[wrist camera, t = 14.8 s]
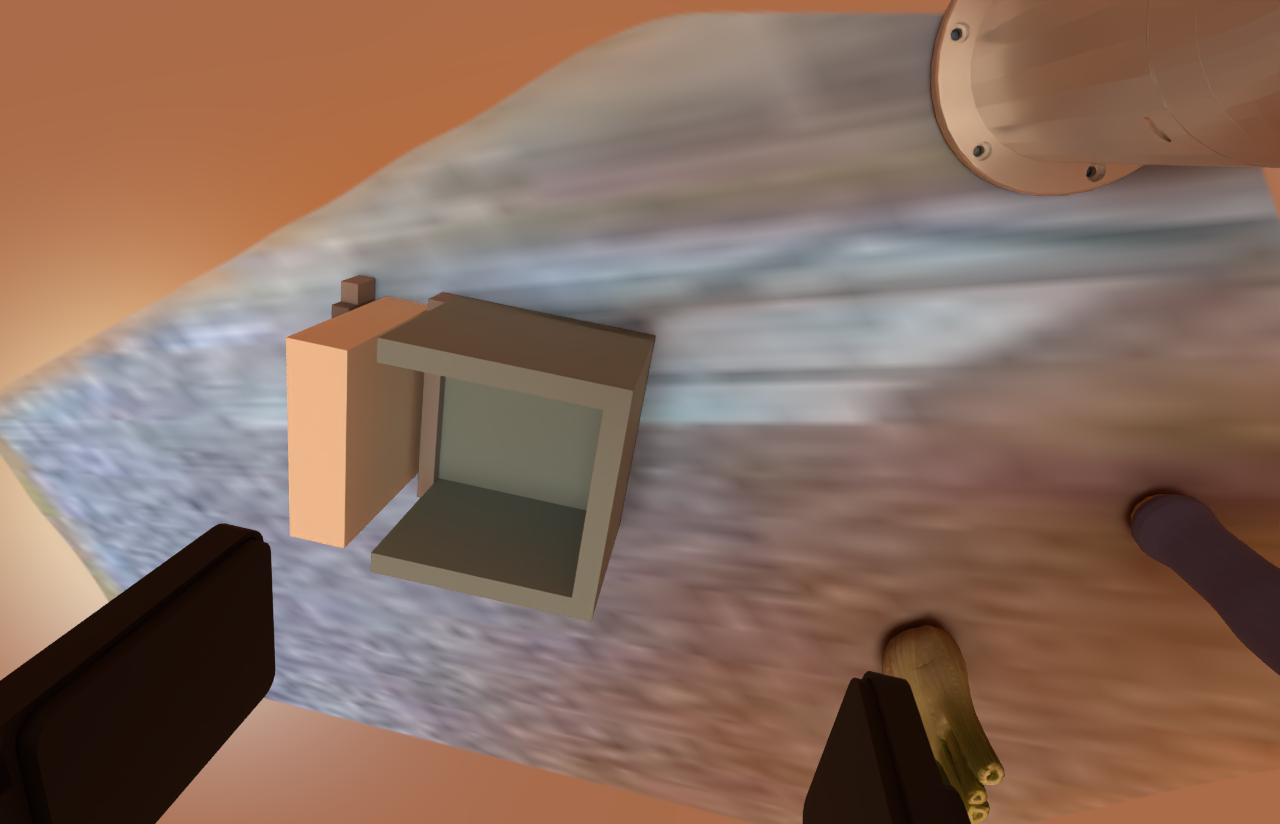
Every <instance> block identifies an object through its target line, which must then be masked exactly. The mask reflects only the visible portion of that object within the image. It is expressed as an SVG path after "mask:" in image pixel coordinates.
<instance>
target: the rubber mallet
mask: <svg viewBox="0 0 1280 824" xmlns="http://www.w3.org/2000/svg"><path fill="white" fill-rule="evenodd" d="M1131 527H1132V536H1133V538H1134V539H1135V541H1136V542H1137V544H1138V545H1139V547H1140V548H1141V550H1142V551H1144V552H1145V553H1146V554H1147V555H1148V556H1150V557H1152V558H1153V559H1155V560H1157V561H1159V562H1161V563H1163V564H1165V565H1167V566H1169V567H1170V568H1171V569H1173V570H1174V571H1175V572H1176V573H1177V574H1178V575H1179V576H1180V577H1181V578H1182V579H1184V580H1185V581H1186V582H1187V583H1188V584H1189V585H1190V586H1191V587H1192V588H1193V589H1194V590H1196V591H1197V592H1198V593H1199V594H1200V595H1201V596H1202V597H1203V598H1204V599H1205V600H1206V601H1207V602H1209V604H1210V605H1211V606H1212V607H1213V608H1214V609H1215V610H1216V611H1217V612H1218V614H1219V615H1220V616H1221V617H1222V619H1223V620H1224V621H1225V622H1226V624H1227V625H1228V626H1229V627H1230V629H1231V630H1232V631H1233V633H1234V634H1235V635H1236V636H1237V637H1238V638H1239V639H1240V641H1241V642H1242V643H1243V644H1244V645H1245V646H1246V647H1247V648H1249V649H1250V650H1251V651H1252V652H1253V653H1254V654H1255V655H1256V656H1257V657H1259V658H1260V659H1261V660H1262V661H1263V662H1264V663H1265V664H1266V665H1268V666H1269V667H1270V668H1271V669H1272V670H1274V671H1275V672H1276V673H1277V674H1279V675H1280V569H1279V568H1277V567H1276V566H1274V565H1273V564H1271V563H1270V562H1268V561H1267V560H1266V559H1264V558H1263V557H1262V556H1260V555H1259V554H1258V553H1256V552H1255V551H1254V550H1252V549H1251V548H1250V547H1248V546H1247V545H1246V544H1244V543H1243V542H1242V541H1241V540H1239V539H1238V538H1237V537H1235V536H1234V535H1233V534H1231V533H1230V532H1229V531H1227V530H1226V529H1225V528H1224V527H1223V526H1222V524H1221V523H1220V522H1219V521H1218V519H1217V518H1216V517H1215V515H1214V514H1213V512H1212V511H1211V510H1210V508H1208V507H1207V506H1206V505H1205V504H1203V503H1202V502H1200V501H1199V500H1197V499H1195V498H1193V497H1191V496H1184V495H1177V494H1158V495H1154V496H1150V497H1147V498H1145V499H1144V500H1143V501H1141V502H1140V503H1138V504H1137V505H1136V506H1135V508H1134V510H1133V512H1132V513H1131Z"/></svg>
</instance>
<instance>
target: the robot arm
mask: <svg viewBox="0 0 1280 824" xmlns="http://www.w3.org/2000/svg"><path fill="white" fill-rule="evenodd" d="M955 29H956V30H958V31H959V33H960V36H959V39H958V40H957V41H954V40H952V38H951V32H952V30H955ZM931 95H932V100H933V105H934V110H935V114H936V119H937V121H938V124H939V126H940V128H941V131H942V133H943V135H944V138H945V140H946V142H947V143H948V145H949V146H950V147H951V149H952V150H953V152H954V153H955V154H956V156H957V157H958V159H959V160H960V161H961V162H962V163H963V164H965V165H966V166H967V167H968V168H969V169H970V170H971V171H972V172H974V173H975V174H976V175H977V176H979V177H981V178H983V179H984V180H986V181H988V182H990V183H992V184H993V185H995V186H997V187H1000V188H1004V189H1007V190H1011V191H1014V192H1017V193H1022V194H1031V195H1037V196H1064V195H1070V194H1075V193H1080V192H1085V191H1090V190H1093V189H1096V188H1099V187H1101V186H1104V185H1107V184H1109V183H1112V182H1115V181H1117V180H1119V179H1121V178H1123V177H1124V176H1126V175H1128V174H1130V173H1132V172H1133V171H1135V170H1137V169H1139V168H1140V167H1142V166H1144V165H1180V166H1224V167H1269V168H1280V0H951V2H950V4H949V6H948V8H947V9H946V11H945V14H944V17H943V20H942V23H941V26H940V29H939V31H938V34H937V37H936V41H935V47H934V53H933V59H932V65H931ZM977 146H979V147H981V153H980V155H979V156H977V157H976V156H974V154H973V150H974V148H975V147H977ZM1089 167H1091V169H1092V173H1091V174H1090V176H1088V177H1087V176H1086V173H1087V169H1088V168H1089ZM274 676H275V648H274V621H273V594H272V568H271V549H270V546H269V544H268V543H265V542H263V537H262V535H261V533H260V532H258V531H255V530H251V529H247V528H242V527H238V526H234V525H229V524H225V523H224V524H218V525H216V526H214V527H213V528H211V529H210V530H208V531H207V532H206V533H204V534H203V535H202V536H200V537H199V538H197V539H196V540H195V541H193V542H192V543H190V544H189V545H188V546H186V547H185V548H184V549H182V550H181V551H179V552H178V553H177V554H175V555H174V556H172V557H171V558H170V559H168V560H167V561H166V562H164V563H163V564H161V565H160V566H159V567H157V568H156V569H154V570H153V571H152V572H150V573H149V574H147V575H146V576H145V577H143V578H142V579H141V580H139V581H138V582H136V583H135V584H134V585H132V586H131V587H129V588H128V589H127V590H125V591H124V592H123V593H121V594H120V595H118V596H117V597H116V598H114V599H113V600H111V601H110V602H109V603H107V604H106V605H105V606H103V607H102V608H100V609H99V610H98V611H96V612H95V613H93V614H92V615H91V616H89V617H88V618H86V619H85V620H84V621H82V622H81V623H80V624H78V625H77V626H75V627H74V628H73V629H71V630H70V631H68V632H67V633H66V634H64V635H63V636H62V637H60V638H59V639H57V640H56V641H55V642H53V643H52V644H50V645H49V646H48V647H46V648H45V649H44V650H42V651H41V652H39V653H38V654H37V655H35V656H34V657H32V658H31V659H30V660H28V661H27V662H25V663H24V664H23V665H21V666H20V667H19V668H17V669H16V670H14V671H13V672H12V673H10V674H9V675H7V676H6V677H5V678H3V679H2V680H1V681H0V824H155V823H156V822H157V821H158V820H159V819H160V817H161V816H162V815H163V814H164V813H165V812H166V811H167V809H168V808H169V807H170V806H171V805H172V803H173V802H174V801H175V800H176V799H177V798H178V797H179V795H180V794H181V793H182V792H183V791H184V790H185V788H186V787H187V786H188V785H189V784H190V783H191V781H192V780H193V779H194V778H195V777H196V776H197V774H198V773H199V772H200V771H201V770H202V769H203V768H204V766H205V765H206V764H207V763H208V761H210V759H211V758H212V757H213V756H214V755H215V753H216V752H217V751H218V750H219V749H220V748H221V746H222V745H223V744H224V743H225V742H226V741H227V740H228V738H229V737H230V736H231V735H232V734H233V732H234V731H235V730H236V729H237V728H238V727H239V726H240V725H241V723H242V722H243V721H244V719H246V718H247V716H248V715H249V714H250V713H251V712H252V710H253V709H254V708H255V707H256V706H257V705H258V703H259V702H260V701H261V700H262V699H263V698H264V697H265V695H266V694H267V692H268V691H269V689H270V687H271V685H272V683H273V680H274ZM803 824H971V822H970V819H969V816H968V813H967V810H966V808H965V805H964V802H963V800H962V798H961V796H960V794H959V792H958V791H957V790H956V789H955V788H954V787H953V786H951V785H947V784H943V781H942V778H941V775H940V772H939V769H938V767H937V764H936V761H935V758H934V755H933V752H932V749H931V746H930V743H929V740H928V737H927V734H926V731H925V728H924V725H923V722H922V719H921V716H920V713H919V710H918V707H917V704H916V701H915V698H914V695H913V692H912V689H911V686H910V684H909V682H908V681H907V680H906V679H902V678H898V677H894V676H889V675H885V674H880V673H876V672H872V671H867V672H866V673H865V674H864V676H863V678H862V679H858V678H853V679H852V680H851V681H850V683H849V685H848V688H847V691H846V693H845V696H844V699H843V701H842V704H841V707H840V709H839V712H838V714H837V717H836V720H835V722H834V725H833V728H832V730H831V733H830V736H829V738H828V741H827V743H826V746H825V749H824V751H823V754H822V757H821V759H820V762H819V765H818V767H817V770H816V772H815V775H814V778H813V780H812V783H811V786H810V788H809V791H808V794H807V796H806V799H805V803H804V809H803Z"/></svg>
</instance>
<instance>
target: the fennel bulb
mask: <svg viewBox="0 0 1280 824" xmlns="http://www.w3.org/2000/svg"><path fill="white" fill-rule="evenodd" d="M882 671H883V674H885V675H889V676H894V677H898V678H902V679H906V680H907V681H908V682H909V684H910V686H911V689H912V692H913V695H914V698H915V701H916V704H917V707H918V710H919V713H920V716H921V719H922V722H923V725H924V728H925V731H926V734H927V737H928V740H929V743H930V746H931V749H932V752H933V755H934V758H935V761H936V764H937V767H938V769H939V772H940V775H941V778H942V781H943V784H947V785H951V786H953V787H954V788H955V789H956V790H957V791H958V792H959V794H960V796H961V798H962V800H963V802H964V805H965V808H966V810H967V813H968V816H969V819H970V822H971V824H978V823H979V822H982V821H983V820H984V819H986V818H987V816H988V814H989V810H990V807H989V804H988V802H987V794H986V790H985V787H984V785H996V784H999V783H1000V782H1001V781H1002V779H1003V777H1004V776H1005V774H1004V768H1003V766H1002V764H1001V763H1000V761H999V759H998V757H997V756H996V754H995V752H994V750H993V748H992V746H991V745H990V743H989V741H988V739H987V737H986V735H985V733H984V731H983V729H982V726H981V724H980V722H979V720H978V717H977V715H976V713H975V710H974V706H973V703H972V699H971V695H970V689H969V684H968V673H967V668H966V664H965V661H964V658H963V656H962V654H961V651H960V649H959V647H958V645H957V643H956V642H955V641H954V640H953V639H952V638H951V636H950V635H949V634H948V633H947V632H945V631H944V630H943V629H941V628H939V627H933V626H930V625H923V626H920V627H917V628H910V629H908V630H905V631H902V632H900V633H899V634H897V635H895V636H894V637H893V638H892V639H891V640H890V641H889V643H888V645H887V647H886V648H885V651H884V654H883V658H882Z"/></svg>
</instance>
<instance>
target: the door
mask: <svg viewBox="0 0 1280 824" xmlns="http://www.w3.org/2000/svg"><path fill="white" fill-rule="evenodd" d="M426 312H428V305H427V304H422V303H417V302H412V301H407V300H403V299H398V298H393V297H388V296H385V297H383V298H381V299H378V300H376V301H373V302H371V303H368V304H366V305H364V306H361V307H359V308H356V309H354V310H352V311H349V312H347V313H344V314H342V315H339V316H337V317H335V318H332V319H330V320H327V321H325V322H323V323H320V324H318V325H315V326H313V327H310V328H308V329H306V330H303V331H301V332H298V333H296V334H293V335H291V336H289V337H286V357H287V407H288V458H289V509H290V536H293V537H297V538H302V539H306V540H311V541H315V542H319V543H324V544H328V545H332V546H337V547H341V548H345V547H346V546H347V545H348V544H349V543H350V542H351V541H352V540H353V539H354V538H355V537H356V536H357V535H358V534H359V533H360V532H361V531H362V530H363V528H364V527H365V526H366V525H367V524H368V523H369V522H370V521H371V520H372V519H373V518H374V517H375V516H376V515H377V514H378V513H379V512H380V511H381V510H382V509H383V508H384V507H385V506H386V505H387V504H388V503H389V502H390V501H391V500H392V499H393V498H394V497H395V496H396V495H397V494H398V493H399V492H400V491H401V490H402V489H403V488H404V486H405V485H406V484H407V483H408V482H409V481H410V480H411V479H412V478H413V477H414V476H415V475H416V474H417V473H418V472H419V456H420V439H421V422H422V405H423V387H424V372H421V371H416V370H411V369H406V368H402V367H397V366H392V365H387V364H383V363H378V362H377V343H378V337H380V336H382V335H384V334H386V333H388V332H390V331H392V330H393V329H395V328H397V327H399V326H401V325H403V324H405V323H407V322H409V321H411V320H413V319H415V318H417V317H418V316H420V315H422V314H424V313H426Z"/></svg>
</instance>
